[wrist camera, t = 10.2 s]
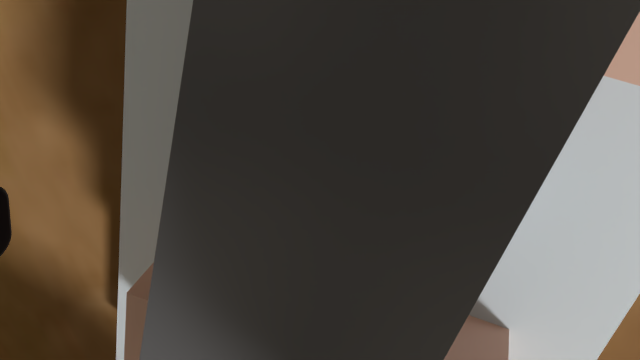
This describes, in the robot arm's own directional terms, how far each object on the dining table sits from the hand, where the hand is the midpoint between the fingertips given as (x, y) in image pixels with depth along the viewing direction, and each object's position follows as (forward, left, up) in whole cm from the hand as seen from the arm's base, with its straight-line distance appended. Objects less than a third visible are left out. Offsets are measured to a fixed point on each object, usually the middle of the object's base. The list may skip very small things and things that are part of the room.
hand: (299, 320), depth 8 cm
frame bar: (0, 0, -2) cm, 3 cm away
